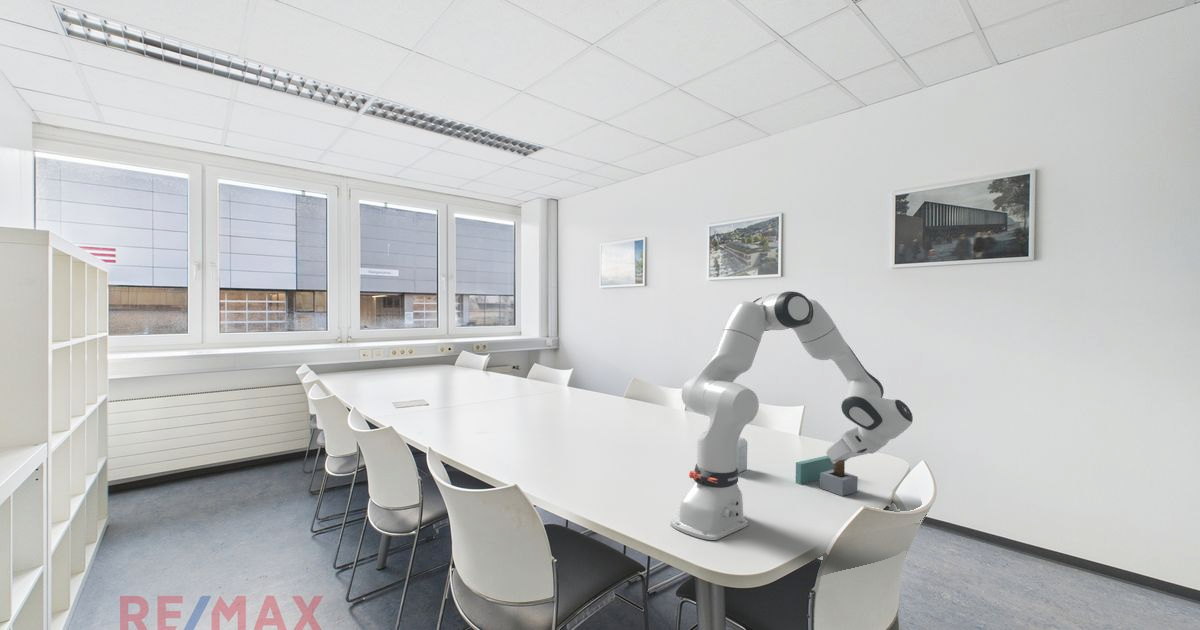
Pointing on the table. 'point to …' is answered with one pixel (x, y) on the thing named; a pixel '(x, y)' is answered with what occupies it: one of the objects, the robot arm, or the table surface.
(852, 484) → the socket block
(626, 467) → the table surface
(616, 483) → the table surface
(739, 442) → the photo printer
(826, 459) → the backstop board
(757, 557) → the table surface
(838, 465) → the walnut dowel
